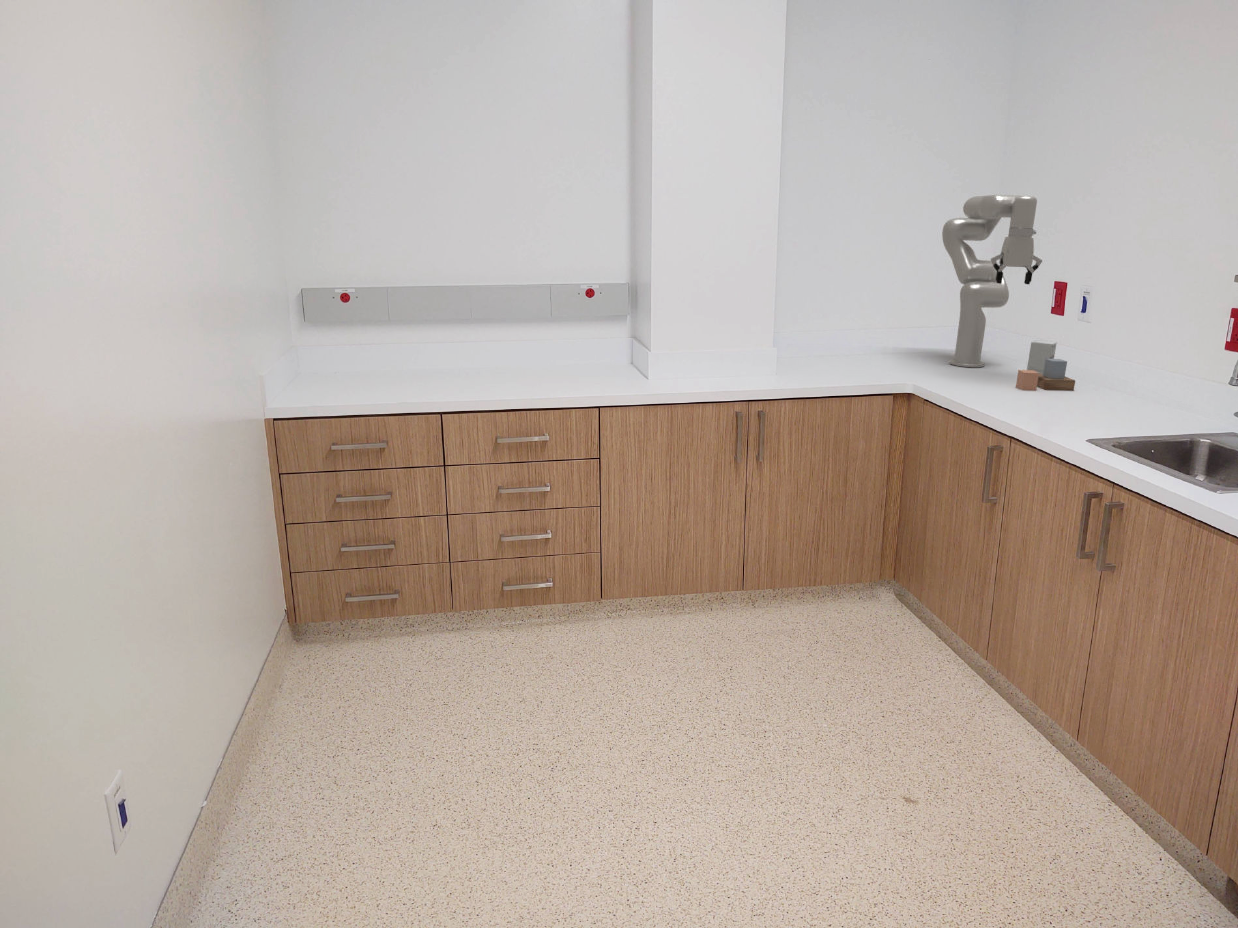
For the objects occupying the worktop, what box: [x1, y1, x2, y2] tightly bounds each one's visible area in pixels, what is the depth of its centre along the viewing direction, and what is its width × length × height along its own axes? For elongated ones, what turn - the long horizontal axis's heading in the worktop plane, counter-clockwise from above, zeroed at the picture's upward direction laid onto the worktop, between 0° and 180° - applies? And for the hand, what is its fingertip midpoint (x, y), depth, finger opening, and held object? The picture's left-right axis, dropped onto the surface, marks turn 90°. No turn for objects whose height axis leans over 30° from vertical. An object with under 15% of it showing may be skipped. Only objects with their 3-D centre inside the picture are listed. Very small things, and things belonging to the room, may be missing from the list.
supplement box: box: [1026, 339, 1058, 374], centre depth 334 cm, size 7×7×13 cm
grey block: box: [1043, 358, 1068, 379], centre depth 313 cm, size 5×5×6 cm
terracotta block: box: [1015, 369, 1039, 391], centre depth 311 cm, size 5×5×6 cm
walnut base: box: [1037, 374, 1076, 392], centre depth 315 cm, size 10×10×4 cm
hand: (1012, 283), depth 322 cm, fingers open, 9 cm apart
